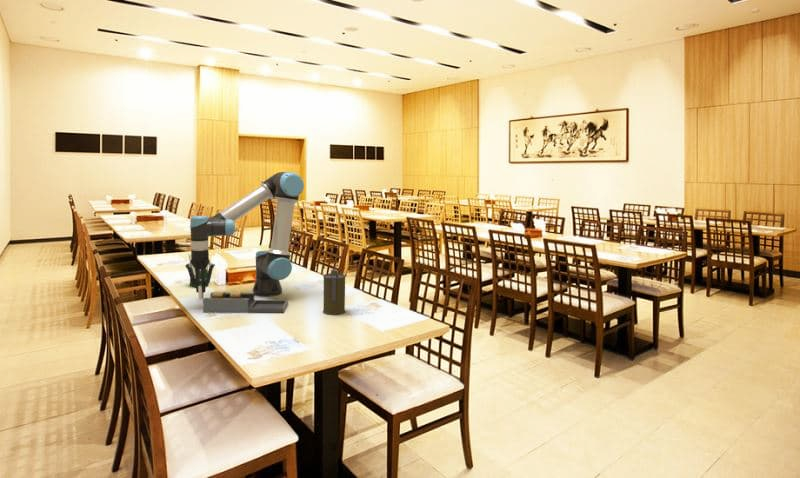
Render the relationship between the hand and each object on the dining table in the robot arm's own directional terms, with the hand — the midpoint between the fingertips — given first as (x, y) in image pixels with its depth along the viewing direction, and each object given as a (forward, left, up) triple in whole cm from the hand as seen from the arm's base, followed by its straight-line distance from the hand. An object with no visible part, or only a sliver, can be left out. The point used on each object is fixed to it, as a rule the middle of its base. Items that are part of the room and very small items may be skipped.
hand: (201, 299), depth 234 cm
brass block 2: (-16, 0, -1) cm, 16 cm away
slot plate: (-13, 0, -4) cm, 14 cm away
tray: (-31, 0, -4) cm, 31 cm away
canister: (-62, +5, -5) cm, 62 cm away
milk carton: (+15, -45, -5) cm, 48 cm away
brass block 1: (-8, 0, -1) cm, 8 cm away
